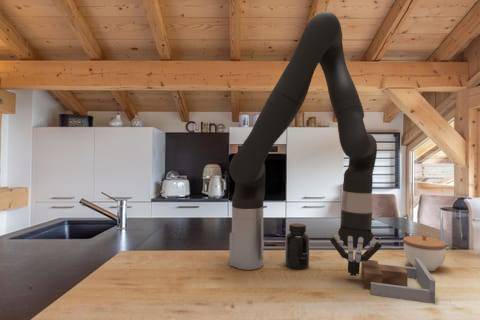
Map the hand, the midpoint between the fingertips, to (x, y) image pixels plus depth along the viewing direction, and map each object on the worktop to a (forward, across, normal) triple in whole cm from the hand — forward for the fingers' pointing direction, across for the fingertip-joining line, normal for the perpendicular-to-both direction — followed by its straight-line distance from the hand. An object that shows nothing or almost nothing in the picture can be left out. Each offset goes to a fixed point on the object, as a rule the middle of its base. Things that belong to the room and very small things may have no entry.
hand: (353, 274), depth 80 cm
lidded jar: (+1, +20, +16) cm, 26 cm away
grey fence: (+1, +10, 0) cm, 10 cm away
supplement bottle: (+2, -15, +5) cm, 16 cm away
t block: (+1, +7, 0) cm, 7 cm away
